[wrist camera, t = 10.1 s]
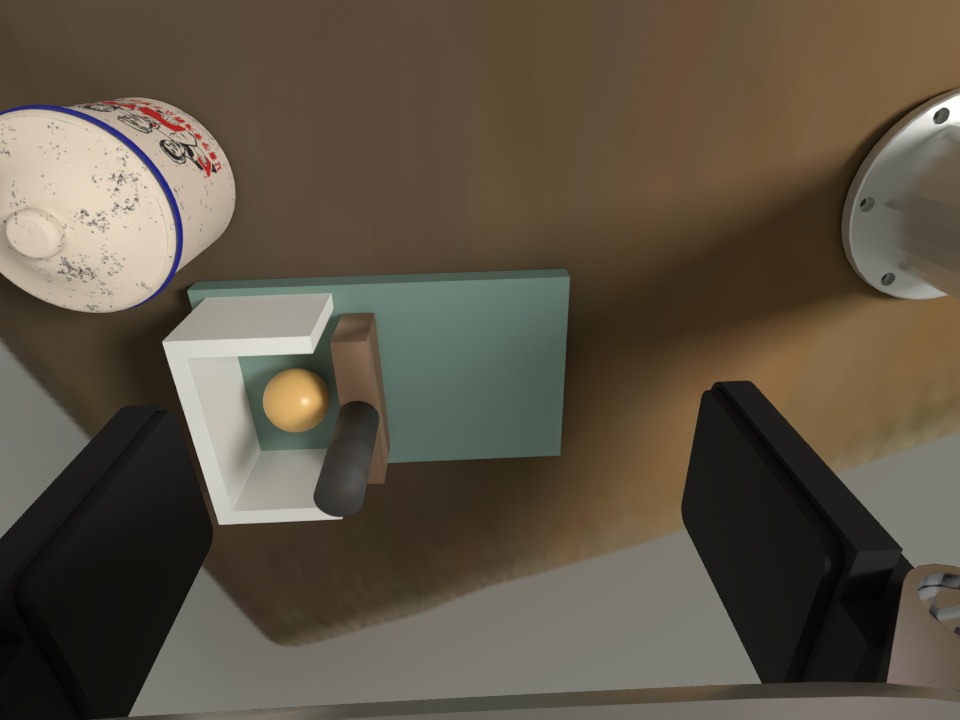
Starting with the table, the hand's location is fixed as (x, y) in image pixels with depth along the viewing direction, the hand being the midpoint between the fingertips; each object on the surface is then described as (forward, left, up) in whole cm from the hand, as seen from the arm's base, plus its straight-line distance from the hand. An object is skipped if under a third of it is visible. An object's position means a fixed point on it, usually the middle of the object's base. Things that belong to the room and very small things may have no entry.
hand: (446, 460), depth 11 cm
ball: (+10, +13, -23) cm, 28 cm away
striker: (+6, +13, -25) cm, 28 cm away
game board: (+5, +13, -26) cm, 29 cm away
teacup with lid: (+18, -1, -26) cm, 32 cm away
